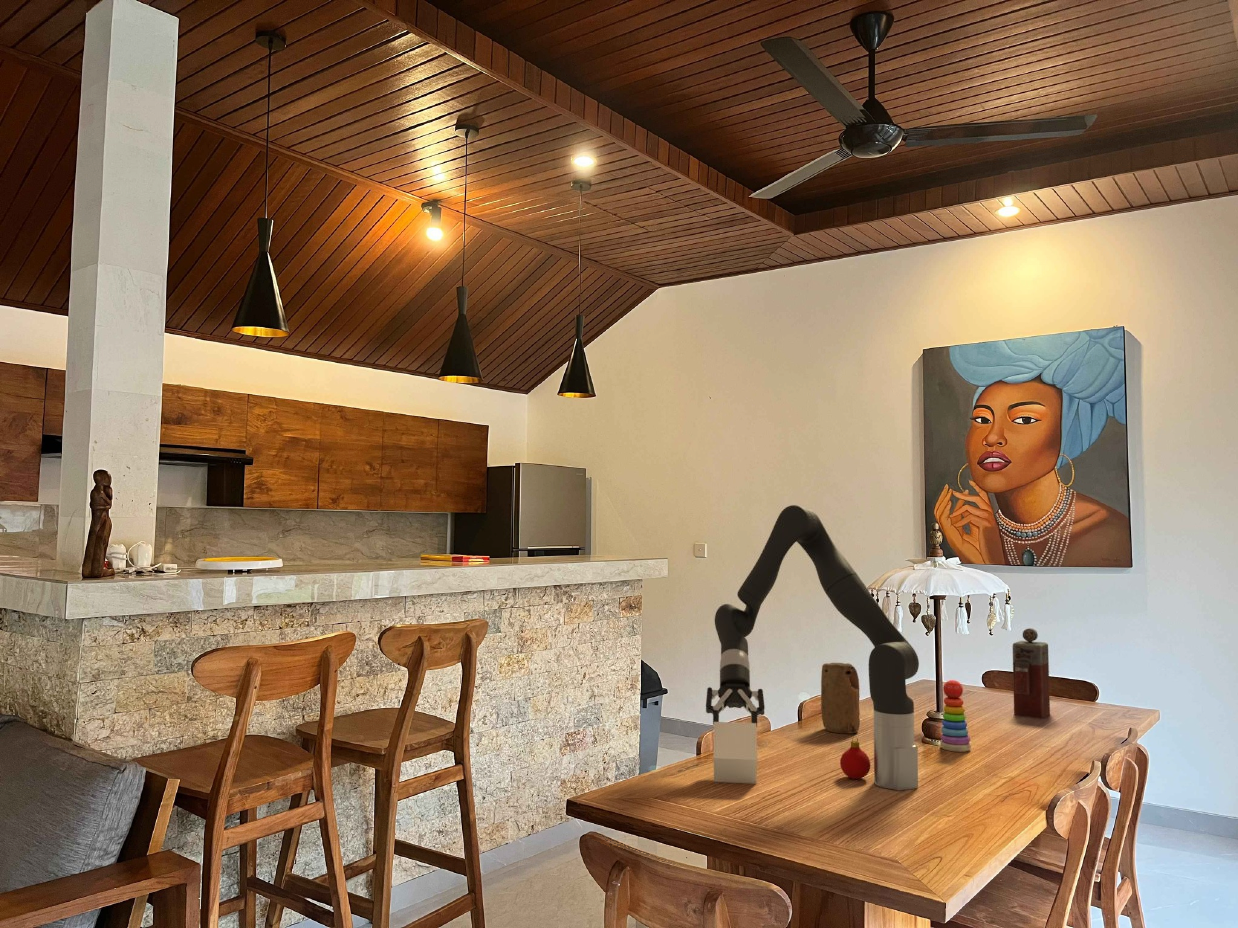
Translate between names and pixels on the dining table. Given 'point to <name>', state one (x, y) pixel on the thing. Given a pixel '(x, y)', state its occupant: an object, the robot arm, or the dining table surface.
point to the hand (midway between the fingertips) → (735, 727)
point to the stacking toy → (954, 720)
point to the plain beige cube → (735, 752)
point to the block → (840, 698)
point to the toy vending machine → (1031, 676)
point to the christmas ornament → (855, 762)
